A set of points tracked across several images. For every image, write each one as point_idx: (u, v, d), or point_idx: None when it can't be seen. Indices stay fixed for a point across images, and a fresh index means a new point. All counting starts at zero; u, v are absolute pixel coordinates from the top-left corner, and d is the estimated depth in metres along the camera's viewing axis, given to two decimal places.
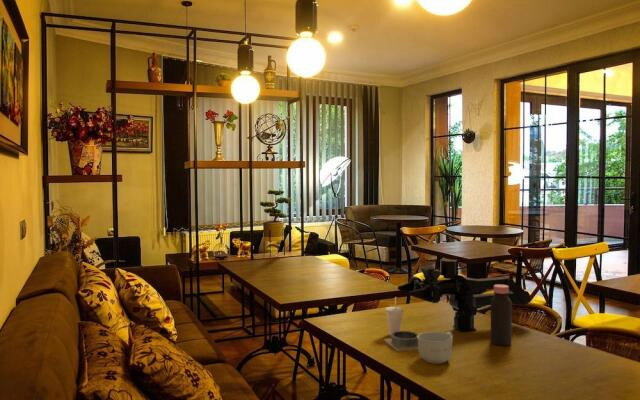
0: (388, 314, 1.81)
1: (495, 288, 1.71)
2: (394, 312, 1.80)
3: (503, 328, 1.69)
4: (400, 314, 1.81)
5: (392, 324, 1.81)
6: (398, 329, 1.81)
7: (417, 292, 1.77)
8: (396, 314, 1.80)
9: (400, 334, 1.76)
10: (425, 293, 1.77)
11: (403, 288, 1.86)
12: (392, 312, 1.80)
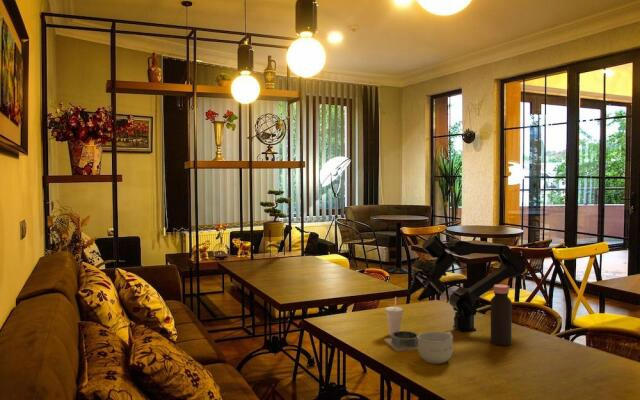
0: (388, 314, 1.81)
1: (495, 288, 1.71)
2: (394, 312, 1.80)
3: (503, 328, 1.69)
4: (400, 314, 1.81)
5: (392, 324, 1.81)
6: (398, 329, 1.81)
7: (423, 294, 1.79)
8: (396, 314, 1.80)
9: (400, 334, 1.76)
10: (430, 289, 1.79)
11: (413, 290, 1.89)
12: (392, 312, 1.80)
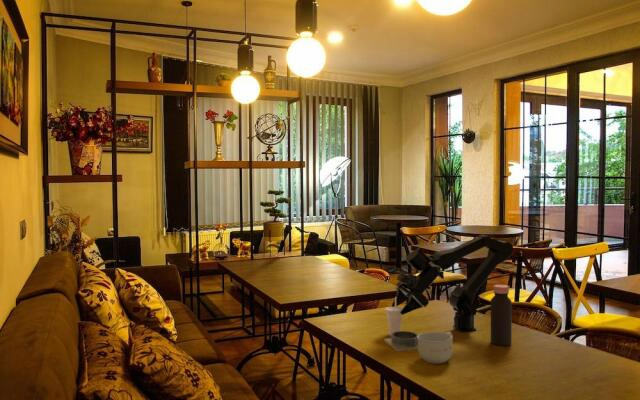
0: (388, 314, 1.81)
1: (495, 288, 1.71)
2: (394, 312, 1.80)
3: (503, 328, 1.69)
4: (400, 314, 1.81)
5: (392, 324, 1.81)
6: (398, 329, 1.81)
7: (406, 307, 1.78)
8: (396, 314, 1.80)
9: (400, 334, 1.76)
10: (413, 302, 1.78)
11: (396, 303, 1.88)
12: (392, 312, 1.80)
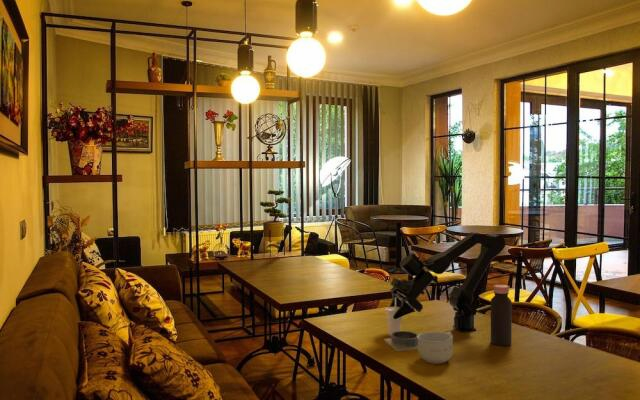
0: (388, 314, 1.81)
1: (495, 288, 1.71)
2: (394, 312, 1.80)
3: (503, 328, 1.69)
4: None
5: (392, 323, 1.81)
6: (398, 329, 1.81)
7: (399, 312, 1.79)
8: None
9: (400, 334, 1.76)
10: (406, 307, 1.79)
11: None
12: (392, 312, 1.80)
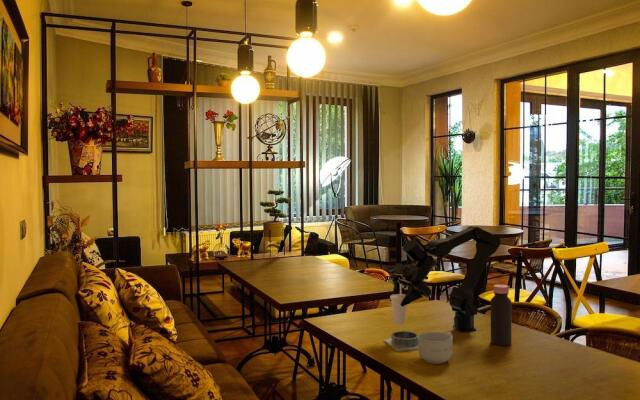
0: (394, 302, 1.74)
1: (495, 288, 1.71)
2: (401, 299, 1.73)
3: (503, 328, 1.69)
4: None
5: (399, 311, 1.74)
6: (404, 317, 1.75)
7: (407, 299, 1.72)
8: None
9: (400, 334, 1.76)
10: (413, 293, 1.73)
11: None
12: (399, 299, 1.73)
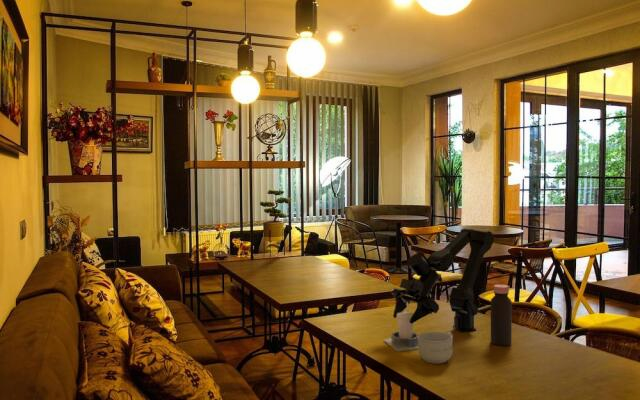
0: (401, 320, 1.70)
1: (495, 288, 1.71)
2: (409, 318, 1.69)
3: (503, 328, 1.69)
4: None
5: (406, 330, 1.70)
6: (411, 335, 1.71)
7: (416, 315, 1.68)
8: None
9: None
10: (422, 309, 1.69)
11: (398, 312, 1.75)
12: (407, 318, 1.69)
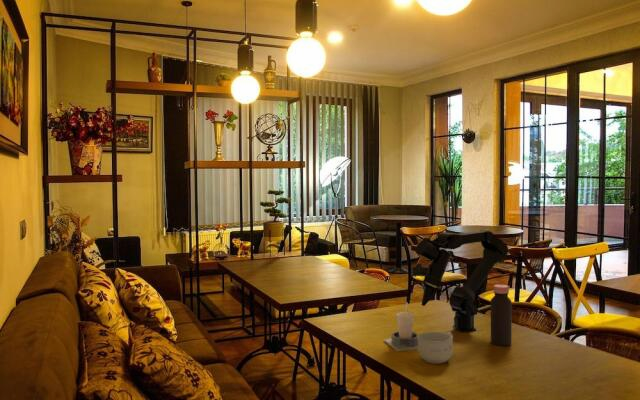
0: (401, 321, 1.70)
1: (495, 288, 1.71)
2: (409, 318, 1.69)
3: (503, 328, 1.69)
4: (413, 319, 1.71)
5: (406, 330, 1.70)
6: (411, 336, 1.71)
7: (425, 296, 1.75)
8: (410, 320, 1.69)
9: None
10: (430, 288, 1.75)
11: None
12: (406, 318, 1.69)
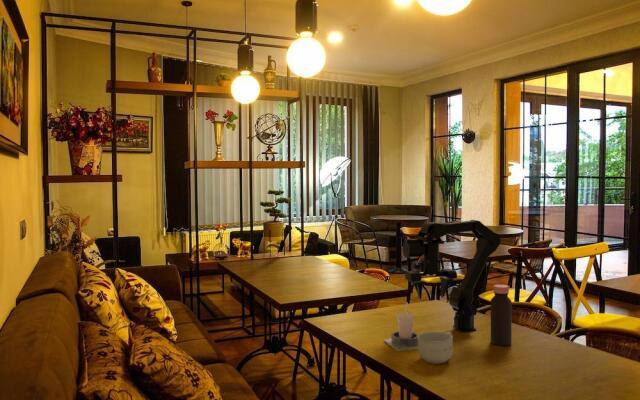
0: (401, 321, 1.70)
1: (495, 288, 1.71)
2: (408, 318, 1.69)
3: (503, 328, 1.69)
4: (413, 319, 1.71)
5: (406, 330, 1.70)
6: (411, 336, 1.71)
7: (416, 291, 1.83)
8: (410, 320, 1.69)
9: None
10: None
11: (442, 291, 1.85)
12: (406, 318, 1.69)
